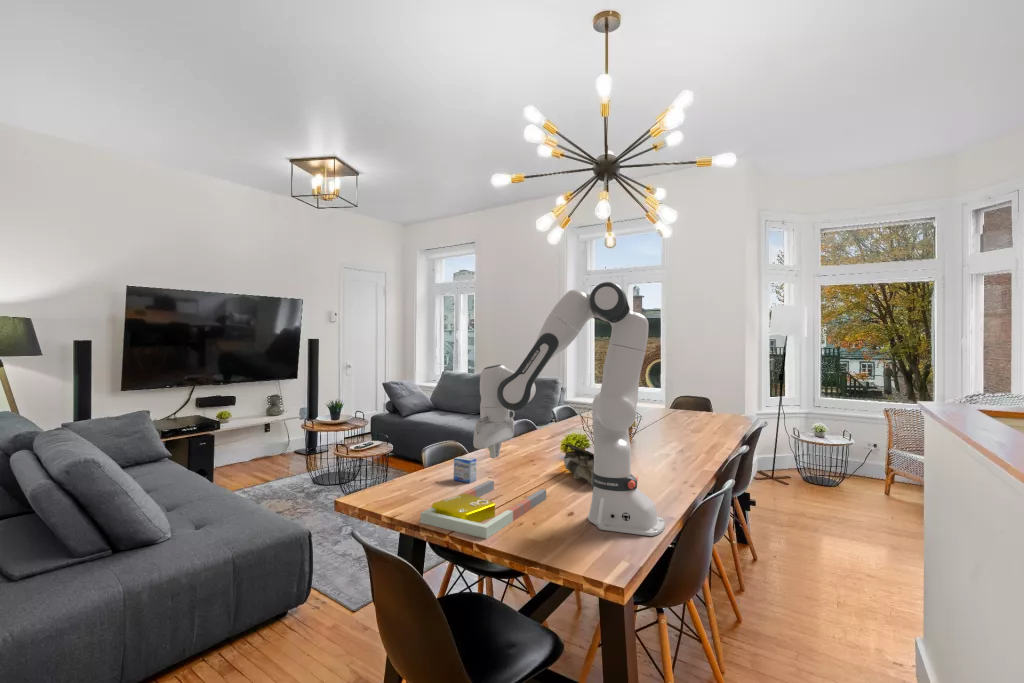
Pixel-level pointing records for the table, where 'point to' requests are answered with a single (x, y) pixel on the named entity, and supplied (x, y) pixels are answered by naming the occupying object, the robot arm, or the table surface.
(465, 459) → the medicine box
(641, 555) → the table surface
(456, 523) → the trap track
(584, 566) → the table surface
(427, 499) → the table surface
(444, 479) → the table surface
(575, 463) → the hollow geode rock
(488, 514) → the element tile
